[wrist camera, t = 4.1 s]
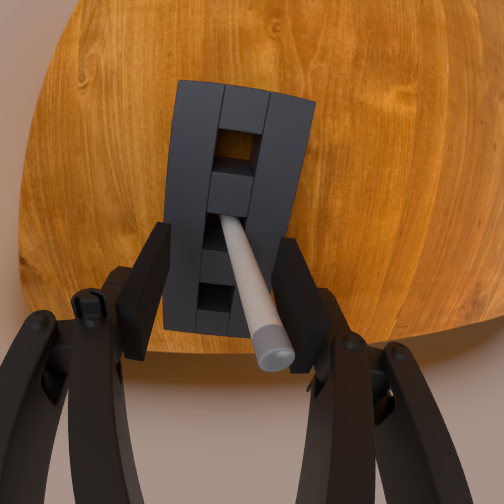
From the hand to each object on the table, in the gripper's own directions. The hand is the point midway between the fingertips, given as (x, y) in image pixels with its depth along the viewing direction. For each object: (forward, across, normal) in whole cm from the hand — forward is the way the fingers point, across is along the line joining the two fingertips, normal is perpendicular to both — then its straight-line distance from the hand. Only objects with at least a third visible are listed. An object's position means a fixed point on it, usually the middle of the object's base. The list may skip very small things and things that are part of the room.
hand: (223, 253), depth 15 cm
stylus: (+8, 0, 0) cm, 8 cm away
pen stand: (+7, 0, 0) cm, 7 cm away
